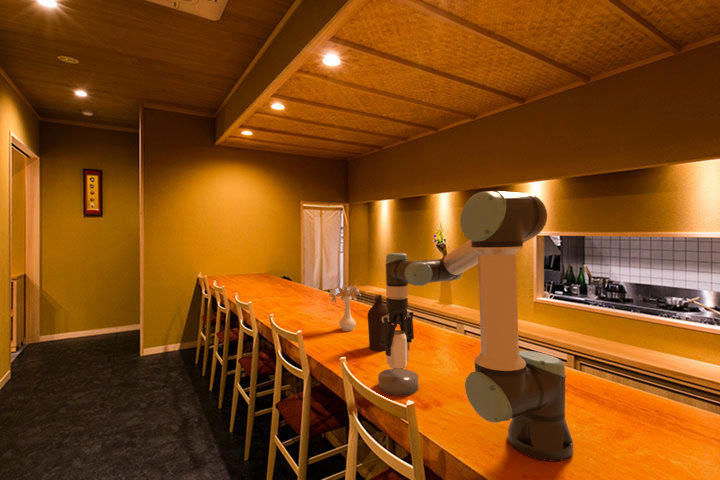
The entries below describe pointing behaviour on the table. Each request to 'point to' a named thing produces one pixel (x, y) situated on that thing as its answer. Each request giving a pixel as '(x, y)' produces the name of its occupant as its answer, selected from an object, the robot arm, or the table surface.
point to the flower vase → (346, 305)
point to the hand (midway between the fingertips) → (397, 362)
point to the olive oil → (376, 324)
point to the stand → (398, 382)
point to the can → (399, 350)
